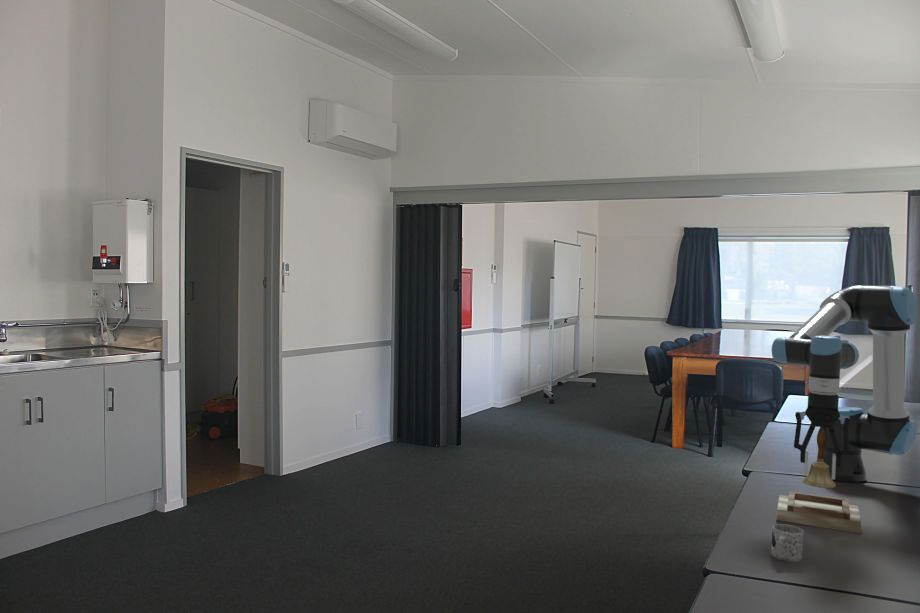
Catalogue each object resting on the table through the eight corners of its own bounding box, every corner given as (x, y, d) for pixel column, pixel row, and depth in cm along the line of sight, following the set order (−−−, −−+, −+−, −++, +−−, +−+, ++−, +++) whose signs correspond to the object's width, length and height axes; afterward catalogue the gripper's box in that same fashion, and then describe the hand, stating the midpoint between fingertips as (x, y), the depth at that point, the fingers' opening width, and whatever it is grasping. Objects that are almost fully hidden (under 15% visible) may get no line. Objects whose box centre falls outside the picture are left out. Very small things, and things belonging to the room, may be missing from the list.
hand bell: (833, 481, 204) (836, 425, 203) (838, 489, 196) (841, 430, 195) (800, 478, 206) (803, 422, 206) (804, 486, 199) (807, 427, 198)
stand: (779, 505, 213) (779, 489, 213) (857, 516, 204) (858, 500, 204) (776, 520, 199) (777, 503, 199) (860, 533, 191) (861, 516, 190)
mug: (776, 548, 178) (777, 521, 178) (805, 556, 174) (806, 528, 173) (763, 560, 170) (764, 532, 170) (793, 568, 166) (794, 539, 166)
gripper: (784, 391, 201) (780, 474, 202) (864, 398, 193) (859, 485, 194) (785, 387, 208) (782, 468, 209) (862, 394, 199) (858, 478, 200)
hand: (819, 476), depth 201 cm, fingers closed on hand bell, 6 cm apart
